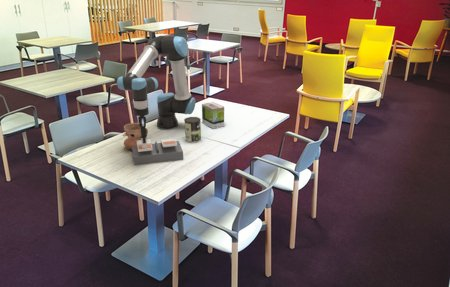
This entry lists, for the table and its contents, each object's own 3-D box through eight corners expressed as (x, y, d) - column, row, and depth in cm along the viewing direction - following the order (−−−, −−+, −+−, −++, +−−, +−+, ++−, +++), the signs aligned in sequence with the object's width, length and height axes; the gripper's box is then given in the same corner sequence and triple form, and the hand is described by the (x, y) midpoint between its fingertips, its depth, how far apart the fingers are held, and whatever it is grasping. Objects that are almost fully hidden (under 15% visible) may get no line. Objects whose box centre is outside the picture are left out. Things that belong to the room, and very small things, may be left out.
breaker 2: (160, 142, 221) (160, 139, 221) (174, 141, 223) (174, 138, 223) (162, 147, 208) (162, 144, 208) (177, 145, 210) (177, 142, 210)
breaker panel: (132, 153, 221) (131, 142, 218) (179, 148, 227) (178, 137, 225) (134, 165, 207) (132, 154, 204) (183, 159, 213) (182, 148, 210)
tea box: (224, 126, 262) (224, 106, 256) (212, 129, 256) (212, 109, 250) (213, 120, 273) (213, 101, 267) (201, 123, 268) (201, 103, 262)
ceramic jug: (131, 155, 219) (129, 133, 213) (117, 148, 227) (115, 126, 222) (155, 146, 231) (154, 125, 225) (141, 140, 240) (140, 119, 234)
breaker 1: (136, 143, 218) (136, 140, 217) (150, 141, 220) (150, 138, 219) (137, 152, 205) (137, 149, 204) (152, 150, 207) (152, 147, 206)
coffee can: (202, 137, 243) (202, 117, 238) (198, 143, 234) (198, 122, 229) (187, 136, 245) (187, 116, 240) (183, 142, 236) (182, 121, 230)
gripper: (133, 104, 202) (137, 144, 211) (134, 111, 191) (138, 152, 200) (147, 103, 204) (150, 142, 213) (149, 110, 193) (152, 151, 202)
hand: (144, 147), depth 207 cm, fingers closed
